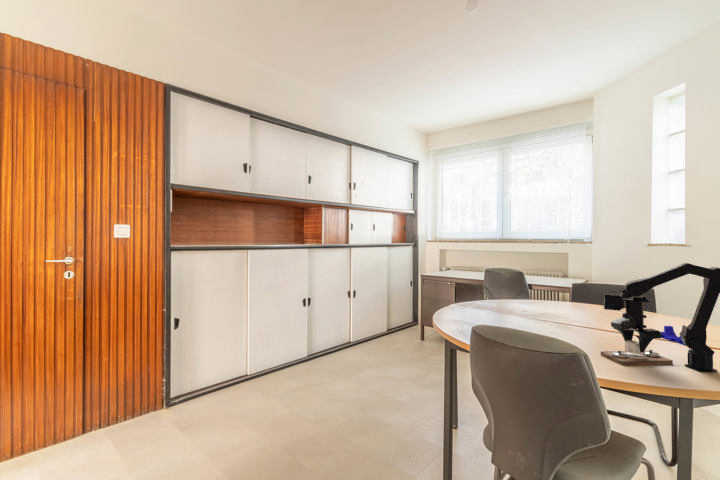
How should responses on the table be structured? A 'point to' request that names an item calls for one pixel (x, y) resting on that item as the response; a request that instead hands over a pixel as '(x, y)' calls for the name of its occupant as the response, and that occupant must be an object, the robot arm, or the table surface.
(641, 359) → the gear board
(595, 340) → the table surface
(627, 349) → the loose gear
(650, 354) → the gear peg base
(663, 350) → the table surface
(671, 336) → the blue bracket
